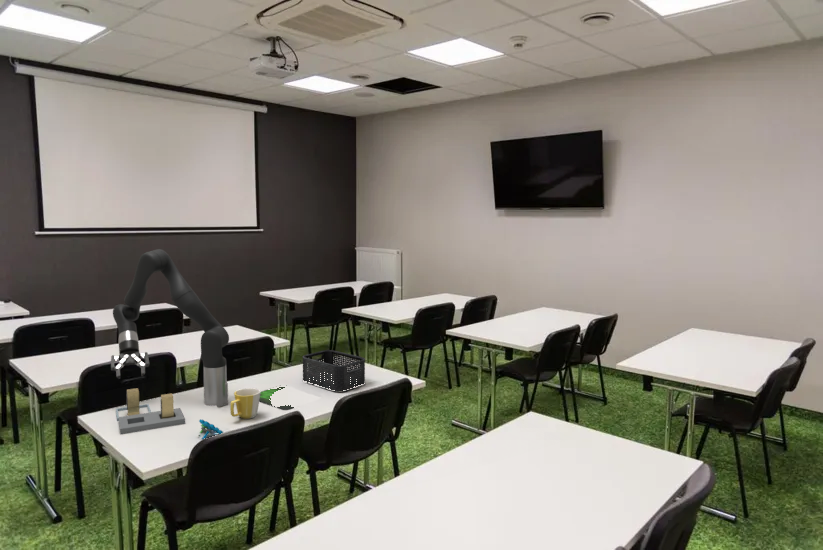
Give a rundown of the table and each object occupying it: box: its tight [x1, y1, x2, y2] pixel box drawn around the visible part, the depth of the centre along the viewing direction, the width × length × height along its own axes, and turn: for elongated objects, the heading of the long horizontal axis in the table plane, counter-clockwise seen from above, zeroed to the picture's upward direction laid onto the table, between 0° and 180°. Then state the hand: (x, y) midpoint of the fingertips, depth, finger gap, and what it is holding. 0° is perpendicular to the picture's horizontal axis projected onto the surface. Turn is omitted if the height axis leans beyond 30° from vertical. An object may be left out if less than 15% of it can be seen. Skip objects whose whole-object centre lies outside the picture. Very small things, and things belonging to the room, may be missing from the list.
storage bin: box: [302, 349, 366, 391], centre depth 262 cm, size 29×19×13 cm
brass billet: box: [126, 387, 140, 416], centre depth 213 cm, size 4×4×10 cm
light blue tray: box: [115, 403, 152, 422], centre depth 213 cm, size 12×12×2 cm
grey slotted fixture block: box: [118, 407, 186, 435], centre depth 204 cm, size 22×13×3 cm, turn 121°
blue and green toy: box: [198, 419, 224, 440], centre depth 194 cm, size 11×6×10 cm
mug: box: [229, 387, 261, 420], centre depth 214 cm, size 14×10×10 cm
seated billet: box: [160, 393, 175, 419], centre depth 206 cm, size 4×4×10 cm
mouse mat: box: [259, 387, 295, 411], centre depth 240 cm, size 27×22×1 cm
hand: (131, 376), depth 220 cm, fingers open, 8 cm apart
